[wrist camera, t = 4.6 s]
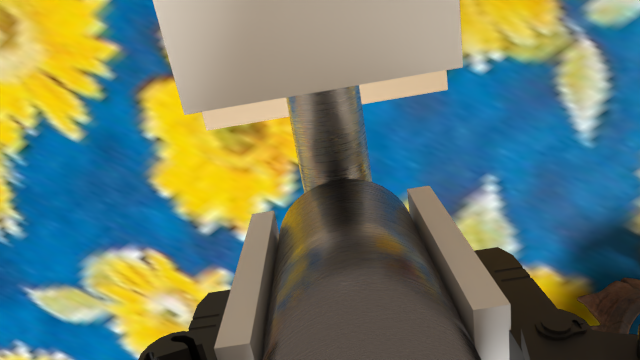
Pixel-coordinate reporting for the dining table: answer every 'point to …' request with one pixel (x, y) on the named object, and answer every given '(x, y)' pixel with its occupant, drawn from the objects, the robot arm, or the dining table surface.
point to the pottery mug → (615, 305)
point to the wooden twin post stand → (304, 52)
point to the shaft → (353, 255)
